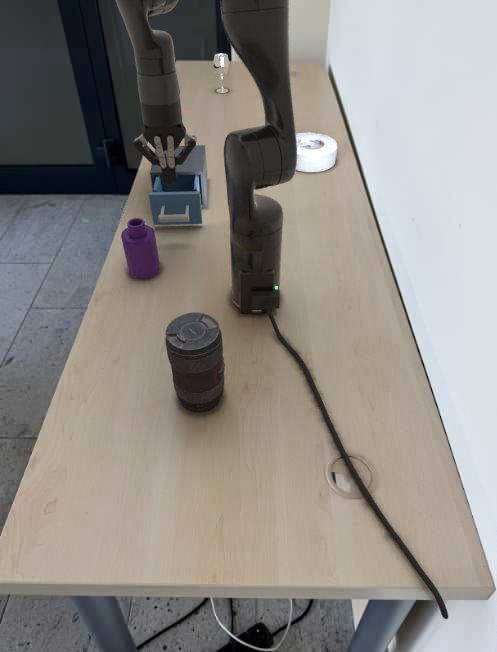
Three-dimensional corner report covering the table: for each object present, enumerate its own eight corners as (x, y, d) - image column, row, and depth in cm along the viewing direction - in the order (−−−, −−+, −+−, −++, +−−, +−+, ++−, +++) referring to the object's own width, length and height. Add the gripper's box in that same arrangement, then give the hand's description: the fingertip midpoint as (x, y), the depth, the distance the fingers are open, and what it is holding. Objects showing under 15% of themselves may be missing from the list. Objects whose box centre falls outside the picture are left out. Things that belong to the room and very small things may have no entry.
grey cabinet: (206, 207, 121) (203, 171, 114) (155, 208, 120) (149, 172, 114) (207, 179, 131) (205, 145, 124) (160, 180, 131) (156, 145, 124)
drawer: (201, 238, 109) (198, 207, 104) (150, 239, 109) (145, 208, 104) (204, 195, 123) (202, 166, 118) (159, 196, 123) (154, 167, 118)
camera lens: (202, 369, 82) (195, 302, 72) (235, 395, 78) (233, 329, 68) (164, 396, 78) (151, 330, 68) (198, 425, 74) (190, 360, 64)
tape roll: (339, 152, 143) (342, 135, 139) (329, 175, 132) (332, 158, 129) (289, 146, 146) (290, 129, 143) (275, 168, 136) (276, 150, 132)
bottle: (158, 278, 100) (150, 231, 92) (127, 279, 100) (116, 232, 92) (161, 260, 105) (154, 213, 97) (131, 260, 105) (121, 213, 97)
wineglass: (212, 89, 182) (210, 54, 174) (226, 87, 184) (225, 52, 176) (218, 94, 178) (216, 58, 170) (232, 92, 180) (231, 56, 172)
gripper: (121, 104, 88) (136, 192, 100) (194, 102, 88) (201, 190, 100) (127, 90, 93) (141, 175, 105) (195, 89, 93) (202, 173, 105)
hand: (170, 182), depth 102 cm, fingers closed
